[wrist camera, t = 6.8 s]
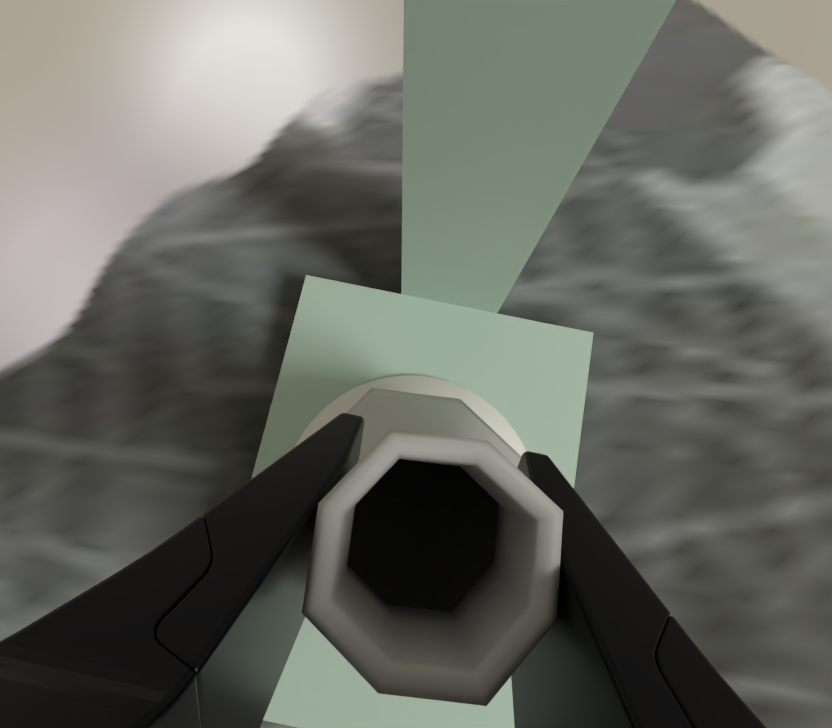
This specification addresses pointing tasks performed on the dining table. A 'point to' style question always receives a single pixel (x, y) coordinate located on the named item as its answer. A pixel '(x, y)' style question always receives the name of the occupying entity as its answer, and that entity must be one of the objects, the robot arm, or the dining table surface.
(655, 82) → the dining table surface
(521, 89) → the bench press
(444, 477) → the flask
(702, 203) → the dining table surface
